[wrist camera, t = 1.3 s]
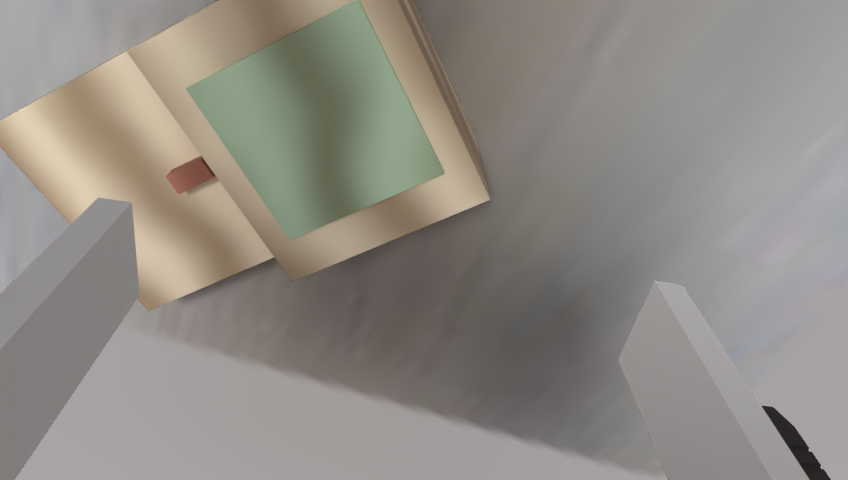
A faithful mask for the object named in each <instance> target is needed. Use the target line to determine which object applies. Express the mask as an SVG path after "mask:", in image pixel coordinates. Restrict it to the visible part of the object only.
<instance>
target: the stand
mask: <svg viewBox="0 0 848 480" xmlns="http://www.w3.org/2000/svg"><path fill="white" fill-rule="evenodd" d="M0 147H1V148H2V150H3V151H4V152H5V153H6V154H7V155H8V156H9V157H10V158H11V160H12V161H13V162H14V163H15V164H16V165H17V166H18V167H19V168H20V170H21V171H22V172H23V173H24V174H25V175H26V176H27V177H28V178H29V180H30V181H31V182H32V183H33V184H34V185H35V186H36V187H37V188H38V190H39V191H40V192H41V193H42V194H43V195H44V196H45V197H46V198H47V200H48V201H49V202H50V203H51V204H52V205H53V206H54V207H55V208H56V210H57V211H58V212H59V213H60V214H61V215H62V216H63V217H64V218H65V219H66V221H67V222H68V223H69V224H70V225H71V224H72V223H73V222H74V221H75V220H76V219H77V218H78V217H79V216H80V215H81V214H82V213H83V212H84V211H85V210H86V209H87V208H88V207H89V206H90V205H91V204H92V203H93V202H94V201H95V200H96V199H97V198H98V197H99V198H105V199H112V200H119V201H126V202H132V210H133V222H134V234H135V246H136V257H137V269H138V281H139V292H140V295H139V296H138V298H137V299H138V300H139V302H140V303H141V304H142V305H143V306H144V307H145V308H146V309H147V310H148V311H150V310H152V309H155V308H157V307H159V306H162V305H164V304H166V303H169V302H171V301H173V300H176V299H178V298H180V297H183V296H185V295H187V294H190V293H192V292H194V291H197V290H199V289H201V288H204V287H206V286H208V285H211V284H213V283H215V282H218V281H220V280H222V279H225V278H227V277H229V276H232V275H234V274H236V273H239V272H241V271H243V270H246V269H248V268H250V267H253V266H255V265H257V264H260V263H262V262H264V261H267V260H269V259H272V258H274V257H275V259H276V260H277V262H278V263H279V264H280V266H281V267H282V269H283V270H284V271H285V273H286V274H287V276H288V277H289V278H290V280H291V281H292V282H293V281H295V280H298V279H300V278H302V277H305V276H307V275H310V274H312V273H315V272H317V271H319V270H322V269H324V268H327V267H329V266H331V265H334V264H336V263H339V262H341V261H344V260H346V259H348V258H351V257H353V256H356V255H358V254H360V253H363V252H365V251H368V250H370V249H372V248H375V247H377V246H380V245H382V244H385V243H387V242H389V241H392V240H394V239H397V238H399V237H401V236H404V235H406V234H409V233H411V232H414V231H416V230H418V229H421V228H423V227H426V226H428V225H430V224H433V223H435V222H438V221H440V220H443V219H445V218H447V217H450V216H452V215H455V214H457V213H459V212H462V211H464V210H467V209H469V208H471V207H474V206H476V205H479V204H481V203H484V202H486V201H488V200H490V196H489V191H488V187H487V183H486V178H485V174H484V169H483V165H482V161H481V156H480V152H479V147H478V143H477V140H476V138H475V136H474V134H473V131H472V129H471V127H470V125H469V123H468V120H467V118H466V116H465V114H464V112H463V109H462V107H461V105H460V103H459V100H458V98H457V96H456V94H455V92H454V89H453V87H452V85H451V83H450V81H449V78H448V76H447V74H446V72H445V70H444V67H443V65H442V63H441V61H440V59H439V56H438V54H437V52H436V50H435V47H434V45H433V43H432V41H431V39H430V36H429V34H428V32H427V30H426V28H425V25H424V23H423V21H422V19H421V17H420V14H419V12H418V10H417V8H416V5H415V3H414V1H413V0H218V1H216V2H214V3H212V4H210V5H209V6H207V7H205V8H203V9H201V10H199V11H198V12H196V13H194V14H192V15H190V16H189V17H187V18H185V19H183V20H181V21H179V22H178V23H176V24H174V25H172V26H170V27H169V28H167V29H165V30H163V31H161V32H160V33H158V34H156V35H154V36H152V37H150V38H149V39H147V40H145V41H143V42H141V43H140V44H138V45H136V46H134V47H132V48H130V49H129V50H127V51H125V52H123V53H121V54H120V55H118V56H116V57H114V58H112V59H111V60H109V61H107V62H105V63H103V64H101V65H100V66H98V67H96V68H94V69H92V70H91V71H89V72H87V73H85V74H83V75H81V76H80V77H78V78H76V79H74V80H72V81H71V82H69V83H67V84H65V85H63V86H61V87H60V88H58V89H56V90H54V91H52V92H51V93H49V94H47V95H45V96H43V97H42V98H40V99H38V100H36V101H34V102H32V103H31V104H29V105H27V106H25V107H23V108H22V109H20V110H18V111H16V112H15V113H13V114H11V115H9V116H7V117H6V118H4V119H2V120H0Z"/></svg>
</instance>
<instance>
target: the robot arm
mask: <svg viewBox="0 0 848 480" xmlns="http://www.w3.org/2000/svg"><path fill="white" fill-rule="evenodd" d="M139 295H140V292H139V281H138V269H137V257H136V246H135V234H134V222H133V210H132V202H126V201H119V200H112V199H105V198H99V197H98V198H97V199H96V200H95V201H94V202H93V203H92V204H91V205H90V206H89V207H88V208H87V209H86V210H85V211H84V212H83V213H82V214H81V215H80V216H79V217H78V218H77V219H76V220H75V221H74V222H73V223H72V224H71V225H70V226H69V227H68V228H67V229H66V230H65V231H64V232H63V233H62V234H61V235H60V236H59V237H58V238H57V239H56V240H55V241H54V242H53V243H52V244H51V245H50V246H49V247H48V248H46V249H45V250H44V251H43V252H42V253H41V254H40V255H39V256H38V257H37V258H36V259H35V260H34V261H33V262H32V263H31V264H30V265H29V266H28V267H27V268H26V269H25V270H24V271H23V272H22V273H21V274H20V275H19V276H18V277H17V278H16V279H15V280H14V281H13V282H12V283H11V284H10V285H9V286H8V287H7V288H6V289H5V290H4V291H3V292H2V293H1V294H0V480H15V478H16V477H17V475H18V474H19V472H20V471H21V469H22V468H23V467H24V465H25V464H26V462H27V461H28V459H29V458H30V456H31V455H32V453H33V452H34V450H35V449H36V447H37V446H38V444H39V443H40V441H41V440H42V438H43V437H44V435H45V434H46V433H47V431H48V429H49V428H50V427H51V425H52V424H53V422H54V421H55V419H56V418H57V416H58V415H59V413H60V412H61V410H62V409H63V407H64V406H65V404H66V403H67V401H68V400H69V398H70V397H71V396H72V394H73V393H74V391H75V390H76V388H77V387H78V385H79V384H80V382H81V381H82V379H83V378H84V376H85V375H86V373H87V372H88V370H89V369H90V367H91V366H92V364H93V363H94V361H95V360H96V358H97V357H98V356H99V354H100V353H101V351H102V350H103V348H104V347H105V345H106V344H107V342H108V341H109V339H110V338H111V336H112V335H113V333H114V332H115V330H116V329H117V328H118V326H119V325H120V323H121V322H122V320H123V319H124V317H125V316H126V314H127V313H128V311H129V310H130V308H131V307H132V305H133V304H134V302H135V301H136V299H137V298H138V296H139ZM618 361H619V363H620V366H621V368H622V370H623V373H624V375H625V378H626V380H627V382H628V385H629V387H630V390H631V392H632V394H633V397H634V399H635V402H636V404H637V406H638V409H639V411H640V414H641V416H642V418H643V421H644V423H645V426H646V428H647V430H648V433H649V435H650V438H651V440H652V442H653V445H654V447H655V450H656V452H657V454H658V457H659V459H660V462H661V464H662V467H663V469H664V471H665V474H666V476H667V479H668V480H831V479H830V478H829V477H828V475H827V473H826V472H825V471H824V470H823V469H821V468H820V466H821V465H820V464H819V462H818V460H817V459H816V458H815V456H814V455H813V453H812V452H809V450H808V449H809V447H808V446H807V445H806V443H805V441H804V440H803V439H802V437H801V436H800V435H799V433H798V431H797V430H796V428H795V427H794V426H793V425H792V424H791V423H790V422H789V421H788V420H786V419H785V418H784V417H783V416H782V415H781V414H780V413H779V412H778V411H777V410H776V409H774V408H773V407H767V406H761V405H760V403H759V402H758V400H757V399H756V397H755V395H754V394H753V392H752V391H751V389H750V388H749V386H748V385H747V383H746V382H745V380H744V379H743V377H742V375H741V374H740V372H739V371H738V369H737V368H736V366H735V365H734V363H733V362H732V360H731V359H730V357H729V356H728V354H727V352H726V351H725V349H724V348H723V346H722V345H721V343H720V342H719V340H718V339H717V337H716V336H715V334H714V333H713V331H712V329H711V328H710V326H709V325H708V323H707V322H706V320H705V319H704V317H703V316H702V314H701V313H700V311H699V310H698V308H697V307H696V305H695V303H694V302H693V300H692V299H691V297H690V296H689V294H688V293H687V291H686V290H685V288H684V287H683V285H680V284H674V283H667V282H660V281H654V283H653V285H652V287H651V289H650V291H649V294H648V296H647V298H646V300H645V302H644V304H643V306H642V309H641V311H640V313H639V315H638V317H637V319H636V321H635V324H634V326H633V328H632V330H631V332H630V334H629V336H628V339H627V341H626V343H625V345H624V347H623V349H622V351H621V354H620V356H619V358H618Z"/></svg>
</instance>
